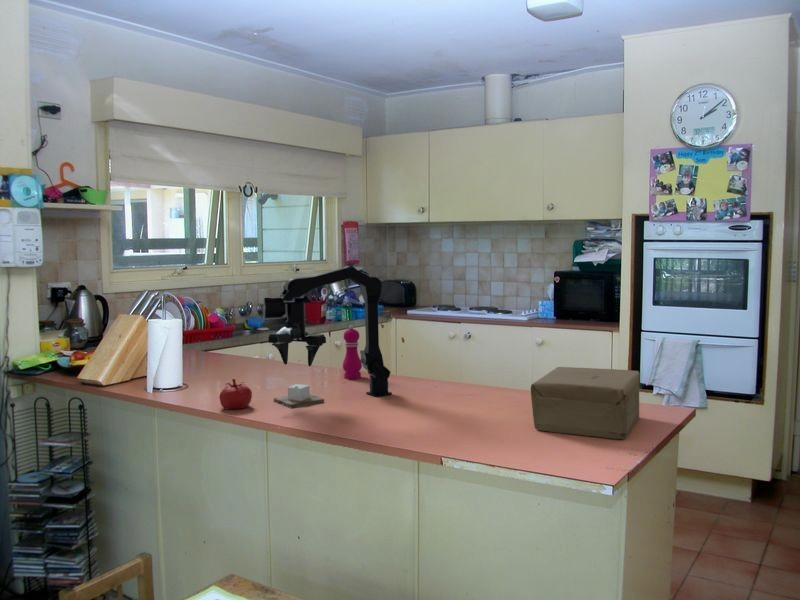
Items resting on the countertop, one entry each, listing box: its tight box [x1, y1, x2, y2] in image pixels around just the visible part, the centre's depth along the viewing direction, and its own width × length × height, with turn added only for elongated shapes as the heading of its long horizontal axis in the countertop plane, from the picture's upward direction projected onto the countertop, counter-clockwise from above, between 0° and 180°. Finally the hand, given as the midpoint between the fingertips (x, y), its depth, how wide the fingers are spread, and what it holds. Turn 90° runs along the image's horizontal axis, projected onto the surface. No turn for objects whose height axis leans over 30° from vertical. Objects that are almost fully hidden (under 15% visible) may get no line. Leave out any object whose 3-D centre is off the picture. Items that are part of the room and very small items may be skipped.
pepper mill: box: [342, 324, 363, 380], centre depth 267 cm, size 7×7×20 cm
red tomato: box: [218, 378, 253, 410], centre depth 224 cm, size 10×10×9 cm
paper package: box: [530, 366, 641, 440], centre depth 197 cm, size 27×26×14 cm
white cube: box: [287, 383, 311, 401], centre depth 230 cm, size 5×5×4 cm
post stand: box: [273, 393, 325, 408], centre depth 230 cm, size 12×12×4 cm
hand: (297, 365), depth 229 cm, fingers open, 9 cm apart
